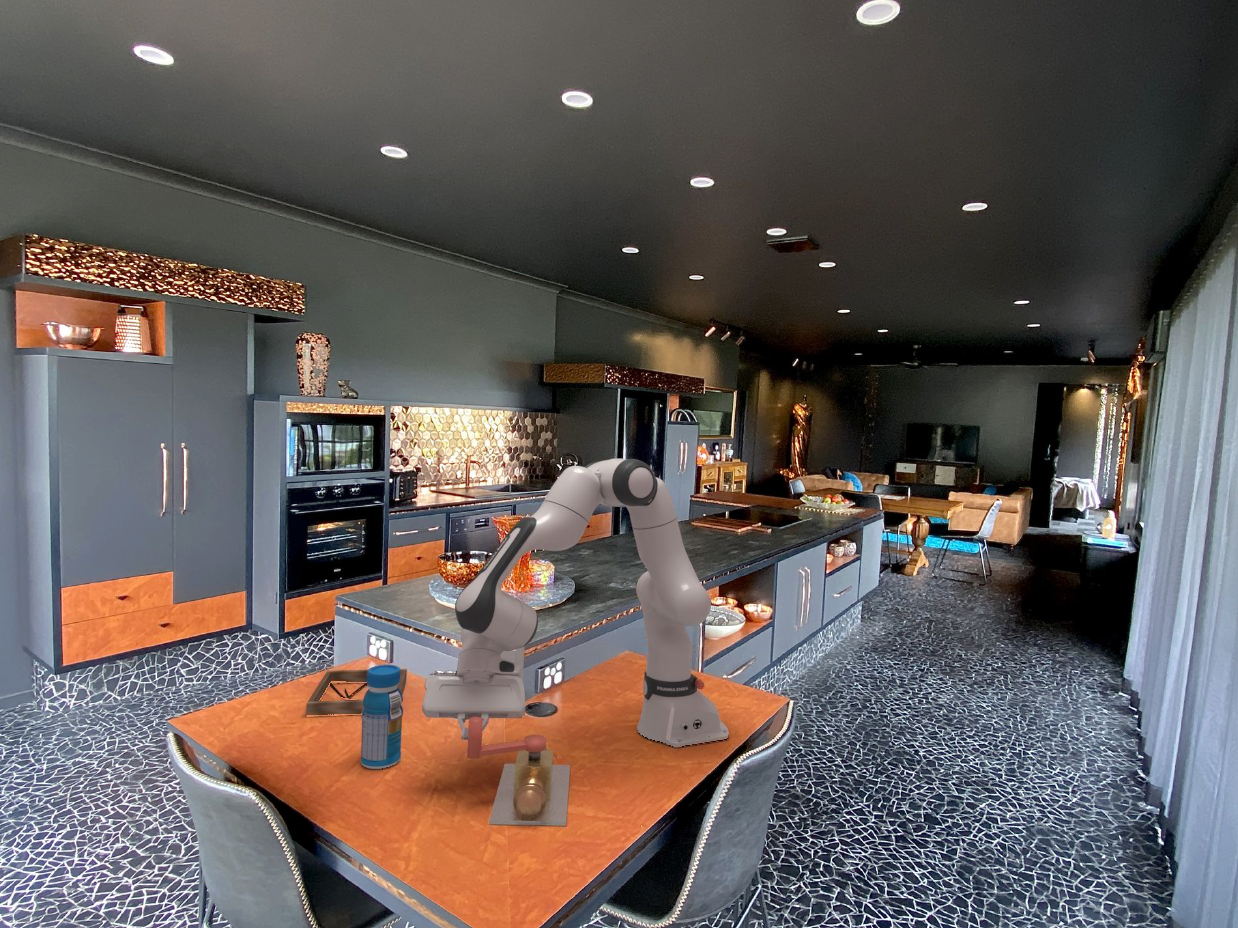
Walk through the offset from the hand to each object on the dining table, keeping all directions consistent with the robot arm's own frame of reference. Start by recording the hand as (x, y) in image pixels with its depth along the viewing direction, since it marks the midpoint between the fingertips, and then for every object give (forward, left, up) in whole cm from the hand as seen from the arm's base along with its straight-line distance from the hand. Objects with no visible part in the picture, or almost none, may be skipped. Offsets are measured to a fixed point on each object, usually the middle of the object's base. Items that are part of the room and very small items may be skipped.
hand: (471, 738), depth 131 cm
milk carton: (-9, -50, -12) cm, 53 cm away
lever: (-7, +1, -3) cm, 7 cm away
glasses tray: (+29, -56, -12) cm, 64 cm away
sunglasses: (+28, -57, -12) cm, 65 cm away
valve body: (-12, 0, -12) cm, 17 cm away
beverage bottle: (+19, -18, -12) cm, 29 cm away
